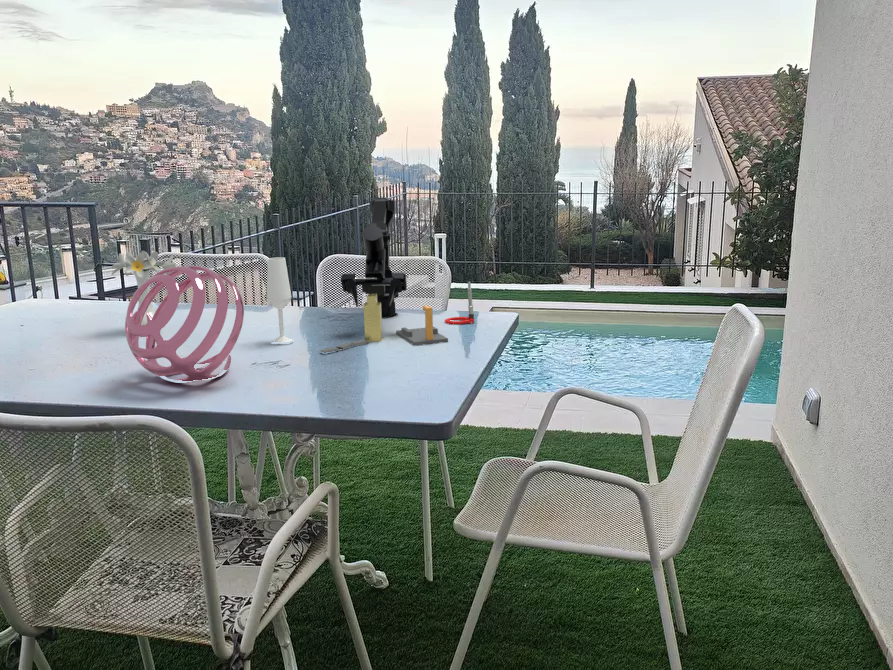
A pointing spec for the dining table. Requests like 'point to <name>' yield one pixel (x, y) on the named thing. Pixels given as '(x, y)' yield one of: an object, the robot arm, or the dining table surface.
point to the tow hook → (470, 308)
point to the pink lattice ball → (165, 314)
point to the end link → (372, 319)
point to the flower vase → (142, 272)
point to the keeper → (423, 331)
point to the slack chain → (346, 346)
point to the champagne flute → (278, 290)
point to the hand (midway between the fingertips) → (372, 306)
